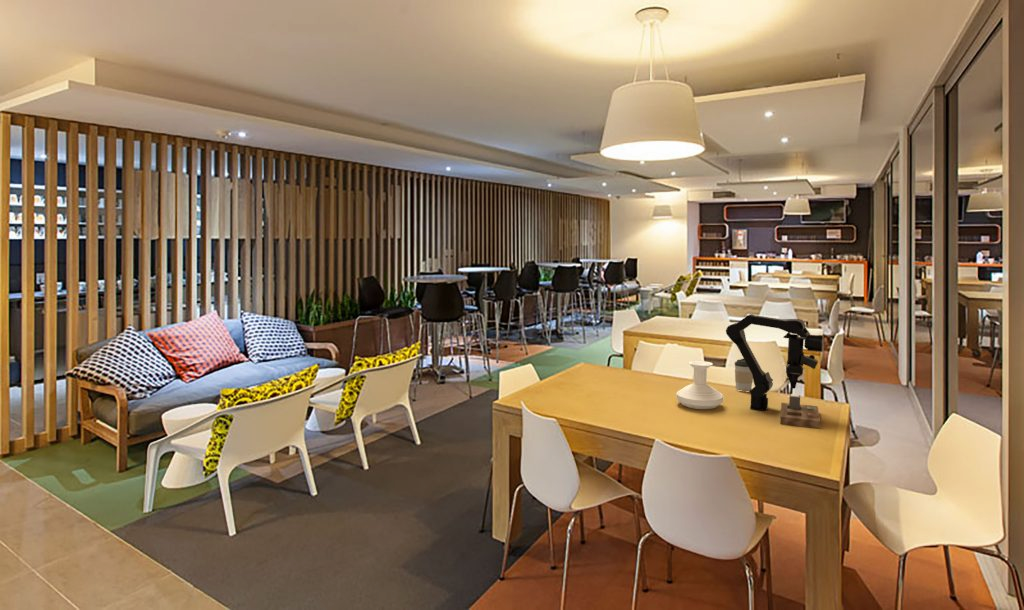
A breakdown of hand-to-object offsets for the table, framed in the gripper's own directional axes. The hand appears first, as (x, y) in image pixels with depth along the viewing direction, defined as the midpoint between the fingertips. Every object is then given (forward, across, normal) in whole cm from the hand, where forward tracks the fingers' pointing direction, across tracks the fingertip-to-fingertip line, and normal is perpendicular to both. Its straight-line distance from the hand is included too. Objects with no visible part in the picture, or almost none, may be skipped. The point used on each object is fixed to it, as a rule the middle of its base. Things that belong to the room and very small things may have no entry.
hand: (793, 385), depth 248 cm
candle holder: (+12, -4, +37) cm, 40 cm away
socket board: (+12, -6, -3) cm, 14 cm away
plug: (+12, -1, -1) cm, 12 cm away
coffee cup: (+12, +32, +22) cm, 41 cm away
